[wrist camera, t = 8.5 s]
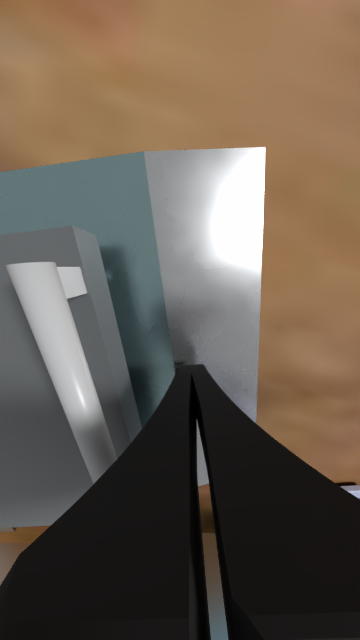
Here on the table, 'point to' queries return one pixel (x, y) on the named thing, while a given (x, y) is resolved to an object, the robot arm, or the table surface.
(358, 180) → the table surface
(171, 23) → the table surface
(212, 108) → the table surface
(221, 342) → the dock bay
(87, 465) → the cabinet door with handle
